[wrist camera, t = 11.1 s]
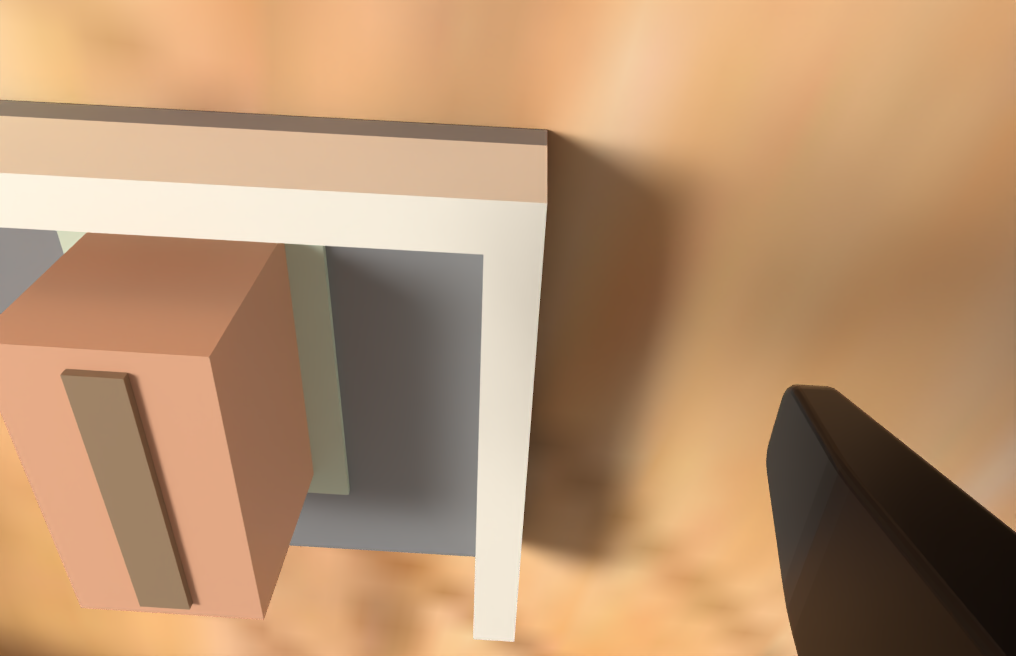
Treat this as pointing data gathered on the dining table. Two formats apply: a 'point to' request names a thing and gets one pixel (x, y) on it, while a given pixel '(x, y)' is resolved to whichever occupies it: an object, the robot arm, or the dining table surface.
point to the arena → (340, 295)
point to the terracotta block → (161, 419)
